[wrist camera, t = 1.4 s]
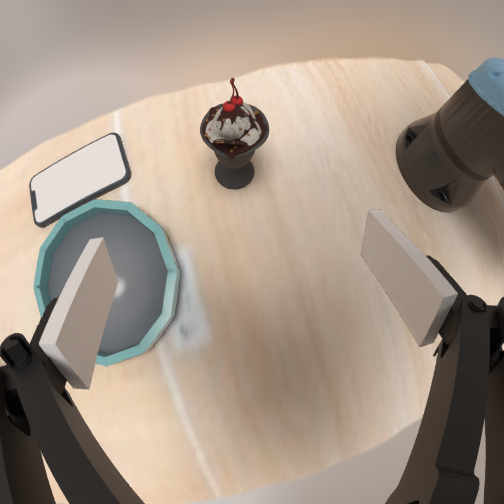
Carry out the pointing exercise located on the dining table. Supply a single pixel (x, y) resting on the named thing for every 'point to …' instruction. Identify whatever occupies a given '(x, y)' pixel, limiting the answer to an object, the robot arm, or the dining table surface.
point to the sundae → (234, 139)
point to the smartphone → (78, 179)
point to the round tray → (126, 268)
